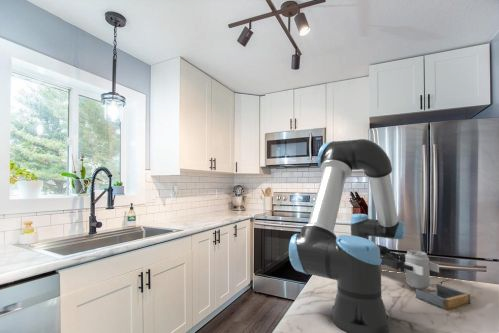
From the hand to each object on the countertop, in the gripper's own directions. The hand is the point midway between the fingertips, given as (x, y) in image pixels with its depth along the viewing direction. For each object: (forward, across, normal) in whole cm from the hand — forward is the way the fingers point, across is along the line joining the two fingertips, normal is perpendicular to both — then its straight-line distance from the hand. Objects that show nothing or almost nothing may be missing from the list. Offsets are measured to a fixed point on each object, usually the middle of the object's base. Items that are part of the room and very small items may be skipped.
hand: (430, 269), depth 94 cm
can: (-5, 0, -7) cm, 9 cm away
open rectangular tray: (+4, 0, -9) cm, 10 cm away
